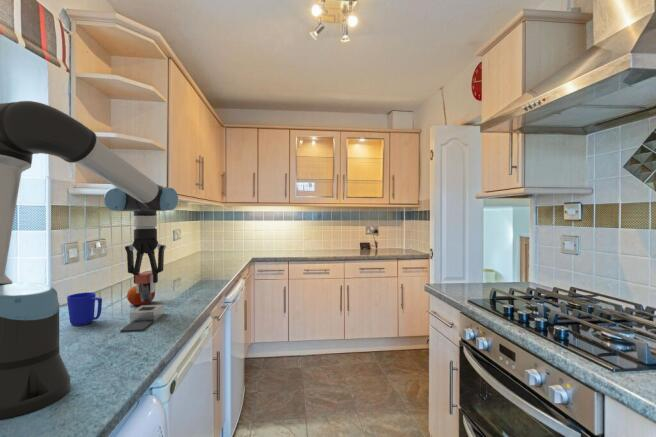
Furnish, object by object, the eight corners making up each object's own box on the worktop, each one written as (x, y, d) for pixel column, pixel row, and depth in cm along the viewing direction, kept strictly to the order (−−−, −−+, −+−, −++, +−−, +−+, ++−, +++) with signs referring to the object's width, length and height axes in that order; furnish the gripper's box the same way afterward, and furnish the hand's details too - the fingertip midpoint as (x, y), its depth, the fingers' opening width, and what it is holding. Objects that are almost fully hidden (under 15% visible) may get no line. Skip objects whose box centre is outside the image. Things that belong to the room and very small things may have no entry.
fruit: (126, 303, 149) (126, 285, 148) (153, 300, 154) (153, 282, 154) (128, 309, 140) (127, 289, 140) (156, 305, 145) (156, 286, 145)
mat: (143, 330, 114) (143, 329, 114) (120, 332, 113) (120, 330, 113) (153, 322, 123) (153, 320, 122) (132, 323, 122) (132, 321, 122)
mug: (91, 328, 117) (90, 298, 117) (61, 326, 119) (60, 297, 119) (111, 320, 125) (110, 293, 125) (82, 319, 127) (82, 291, 127)
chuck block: (153, 321, 123) (153, 312, 123) (129, 323, 122) (129, 313, 122) (163, 313, 133) (163, 304, 133) (141, 314, 132) (141, 305, 132)
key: (156, 297, 132) (156, 271, 132) (147, 303, 123) (147, 275, 123) (145, 298, 131) (144, 271, 131) (135, 303, 122) (134, 275, 122)
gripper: (173, 227, 132) (173, 289, 132) (125, 227, 129) (125, 290, 129) (166, 227, 124) (167, 293, 124) (115, 228, 122) (116, 295, 122)
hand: (146, 291), depth 127 cm, fingers closed on key, 4 cm apart
